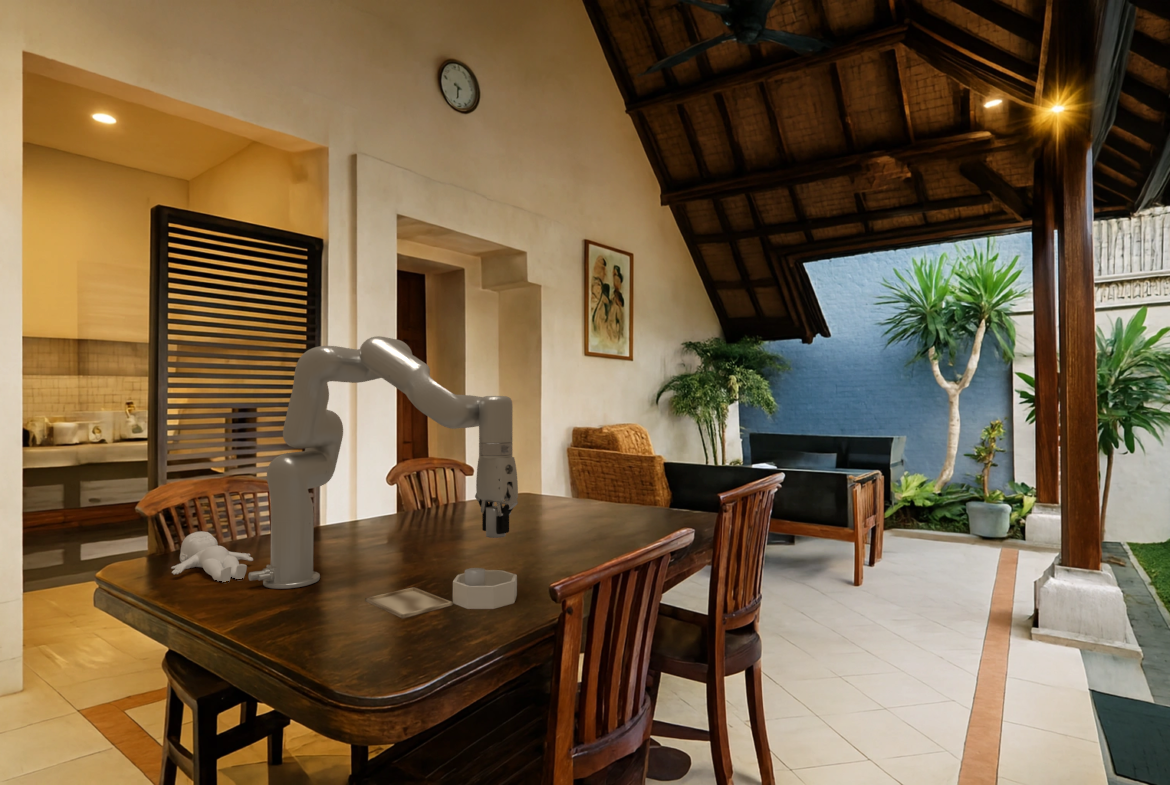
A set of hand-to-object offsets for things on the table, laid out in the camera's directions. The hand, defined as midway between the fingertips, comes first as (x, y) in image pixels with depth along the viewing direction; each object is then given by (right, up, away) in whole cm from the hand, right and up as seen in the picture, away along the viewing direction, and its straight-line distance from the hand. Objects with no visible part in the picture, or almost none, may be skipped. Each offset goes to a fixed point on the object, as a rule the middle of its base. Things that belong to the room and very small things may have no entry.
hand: (495, 530), depth 144 cm
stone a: (-4, -14, -4) cm, 15 cm away
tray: (-18, -15, -5) cm, 24 cm away
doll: (-77, -16, +23) cm, 82 cm away
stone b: (0, -1, 0) cm, 1 cm away
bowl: (-2, -15, -2) cm, 15 cm away
